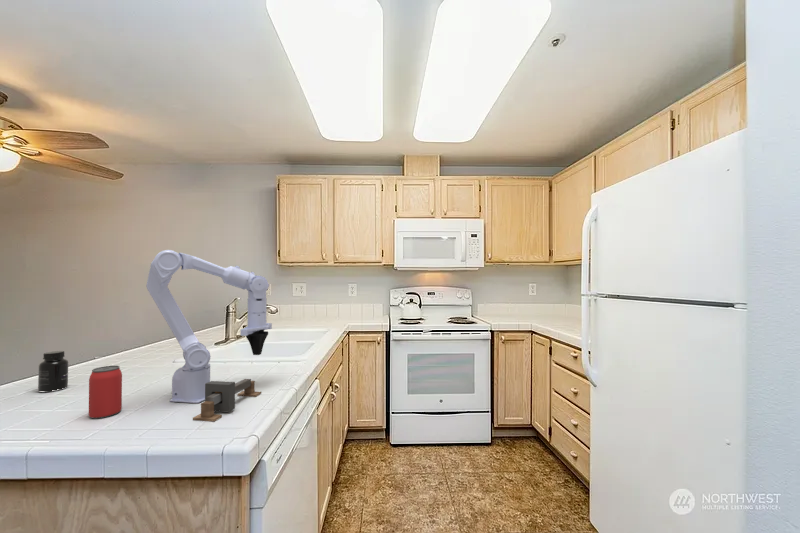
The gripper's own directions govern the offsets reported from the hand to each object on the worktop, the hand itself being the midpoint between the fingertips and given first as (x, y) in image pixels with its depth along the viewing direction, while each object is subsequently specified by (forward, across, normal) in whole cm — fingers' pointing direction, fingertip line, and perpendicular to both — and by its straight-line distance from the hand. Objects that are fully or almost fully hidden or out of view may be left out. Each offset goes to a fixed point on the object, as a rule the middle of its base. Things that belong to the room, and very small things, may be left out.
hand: (257, 354), depth 112 cm
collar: (+10, -20, -2) cm, 23 cm away
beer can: (+11, -26, +27) cm, 39 cm away
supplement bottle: (+11, -11, +65) cm, 67 cm away
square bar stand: (+10, -16, -2) cm, 19 cm away
